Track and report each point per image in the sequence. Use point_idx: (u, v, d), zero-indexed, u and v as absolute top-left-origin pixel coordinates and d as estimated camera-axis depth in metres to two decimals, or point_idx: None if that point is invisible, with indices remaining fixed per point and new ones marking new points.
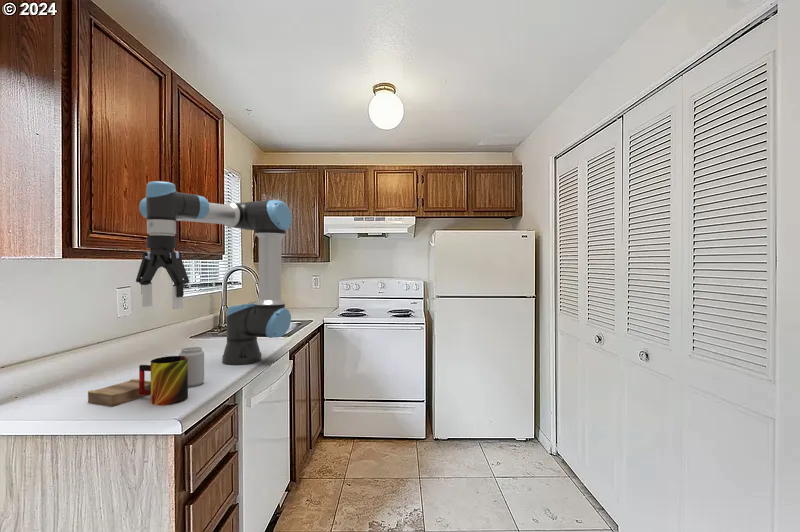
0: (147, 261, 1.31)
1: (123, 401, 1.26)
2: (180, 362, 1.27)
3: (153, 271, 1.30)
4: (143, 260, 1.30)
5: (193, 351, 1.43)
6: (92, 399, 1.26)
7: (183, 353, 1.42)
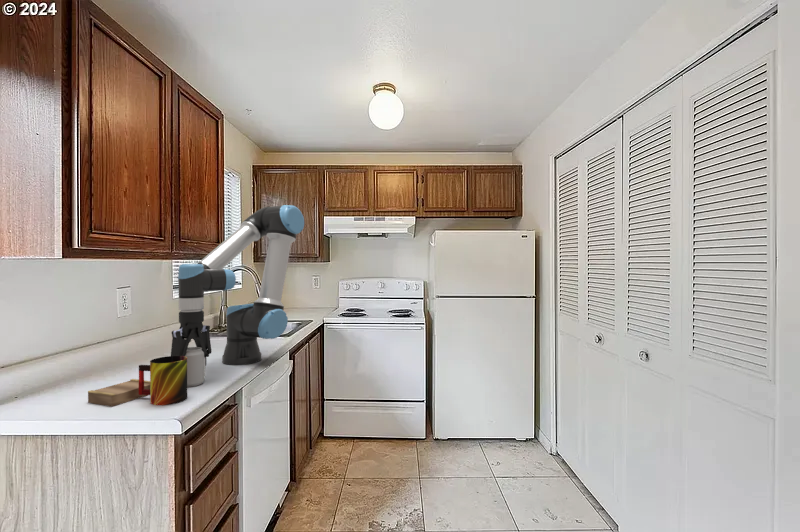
0: (203, 333, 1.50)
1: (123, 401, 1.26)
2: (179, 362, 1.27)
3: (198, 343, 1.47)
4: None
5: (193, 351, 1.43)
6: (92, 399, 1.26)
7: None
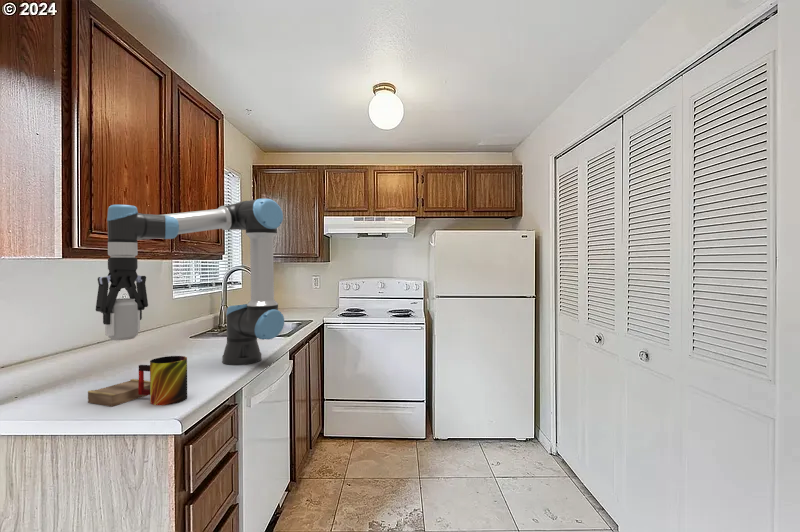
0: (138, 284, 1.36)
1: (123, 401, 1.26)
2: (179, 362, 1.27)
3: (131, 294, 1.33)
4: None
5: (123, 301, 1.28)
6: (92, 399, 1.26)
7: None
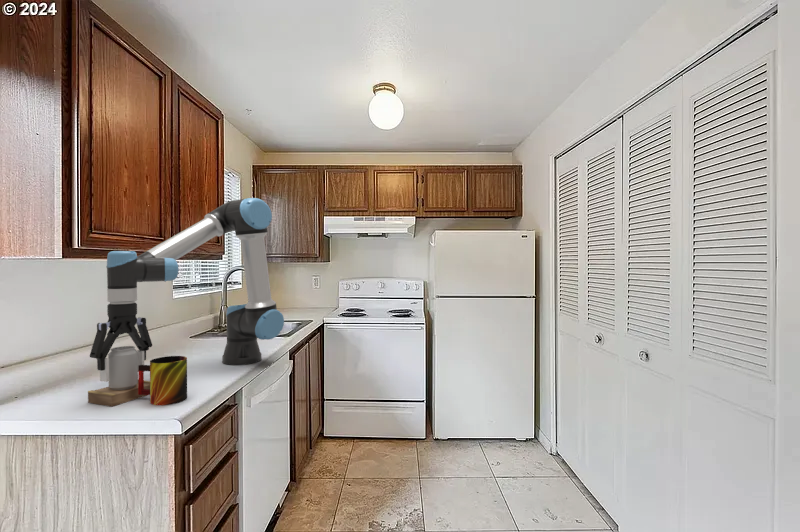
0: (139, 326, 1.36)
1: (123, 401, 1.26)
2: (179, 362, 1.27)
3: (134, 337, 1.34)
4: None
5: (123, 351, 1.29)
6: (92, 399, 1.26)
7: (112, 353, 1.28)
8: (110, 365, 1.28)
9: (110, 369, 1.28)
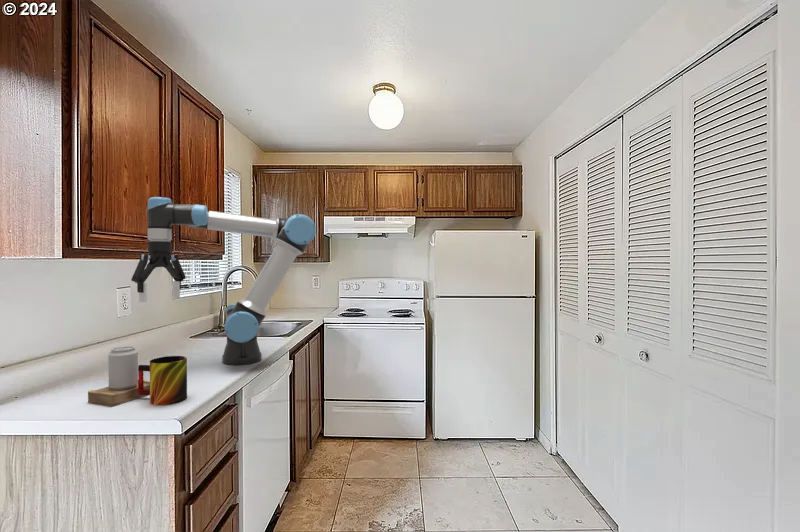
0: (173, 262, 1.62)
1: (123, 401, 1.26)
2: (179, 362, 1.27)
3: (170, 270, 1.60)
4: None
5: (123, 351, 1.29)
6: (92, 399, 1.26)
7: (112, 353, 1.28)
8: (110, 365, 1.28)
9: (110, 369, 1.28)
